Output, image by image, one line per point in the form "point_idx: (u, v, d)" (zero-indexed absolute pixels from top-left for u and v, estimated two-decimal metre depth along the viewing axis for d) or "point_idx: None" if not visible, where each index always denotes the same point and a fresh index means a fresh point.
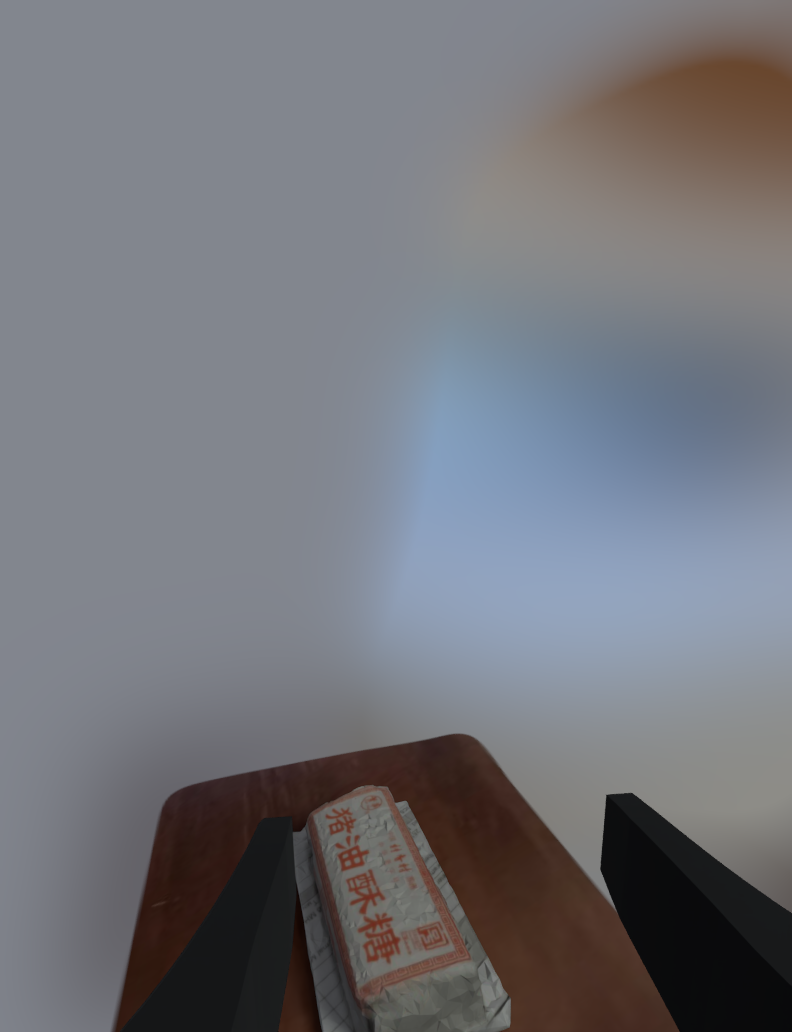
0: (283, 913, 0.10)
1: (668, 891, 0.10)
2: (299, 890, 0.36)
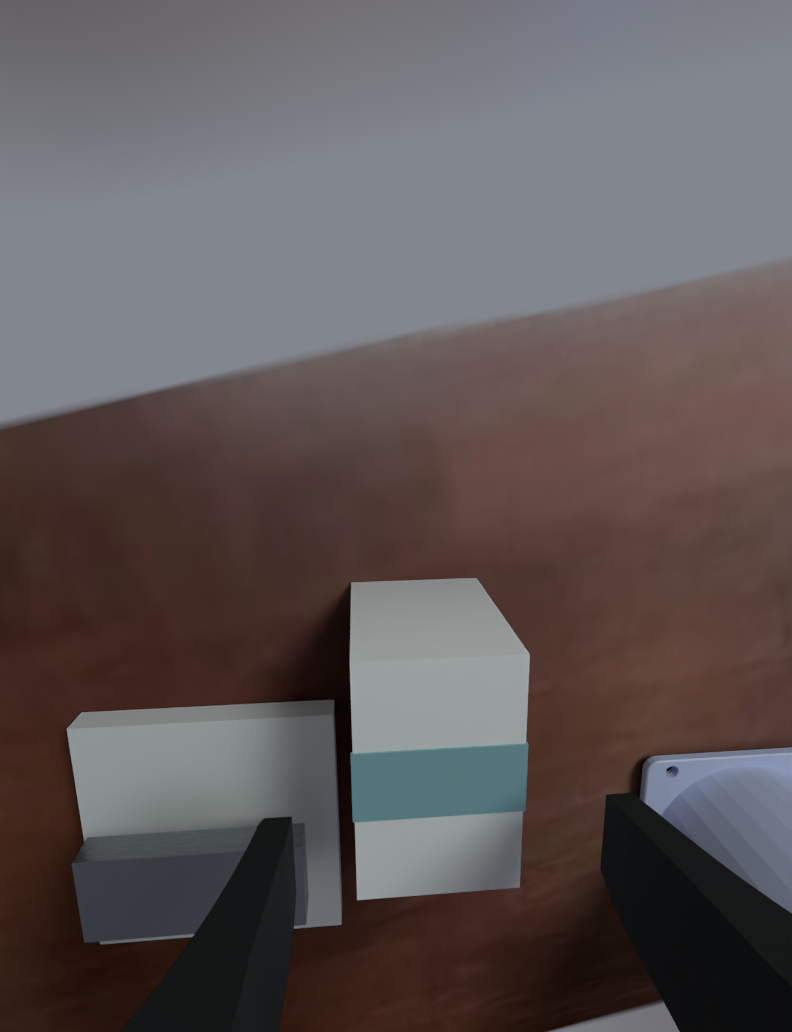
0: (283, 913, 0.10)
1: (668, 891, 0.10)
2: None
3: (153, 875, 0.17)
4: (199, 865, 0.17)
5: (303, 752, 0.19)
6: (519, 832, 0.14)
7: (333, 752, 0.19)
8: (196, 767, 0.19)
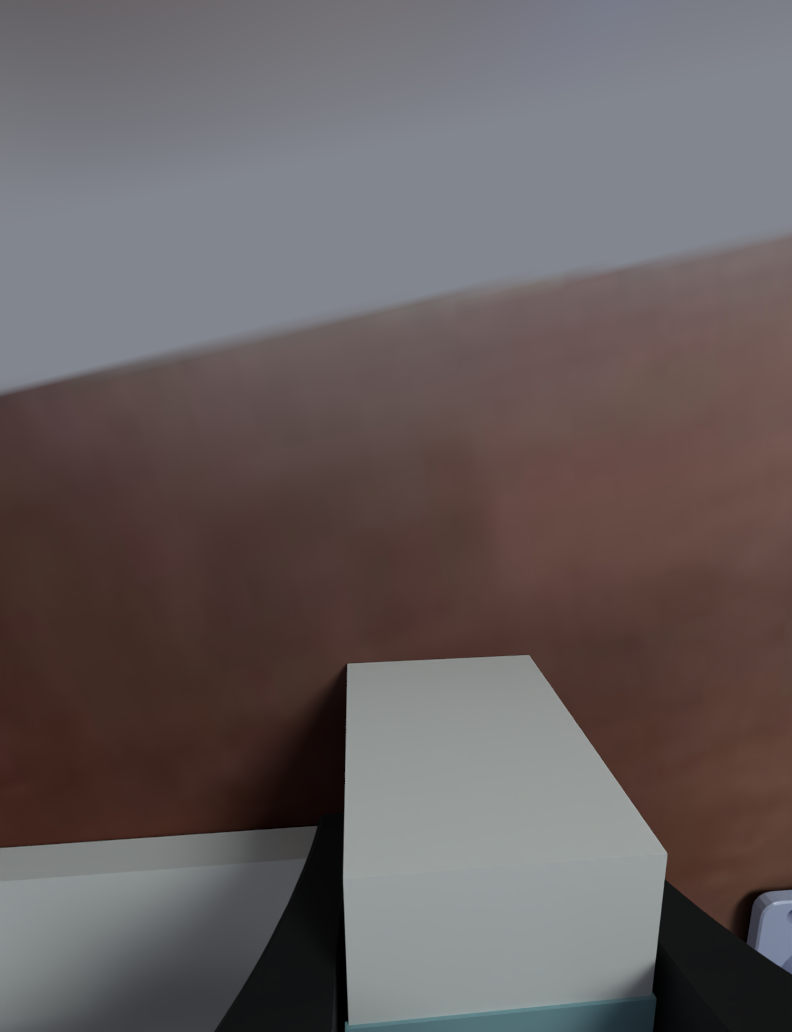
0: None
1: None
2: None
3: None
4: None
5: (278, 909, 0.13)
6: None
7: None
8: (121, 934, 0.13)
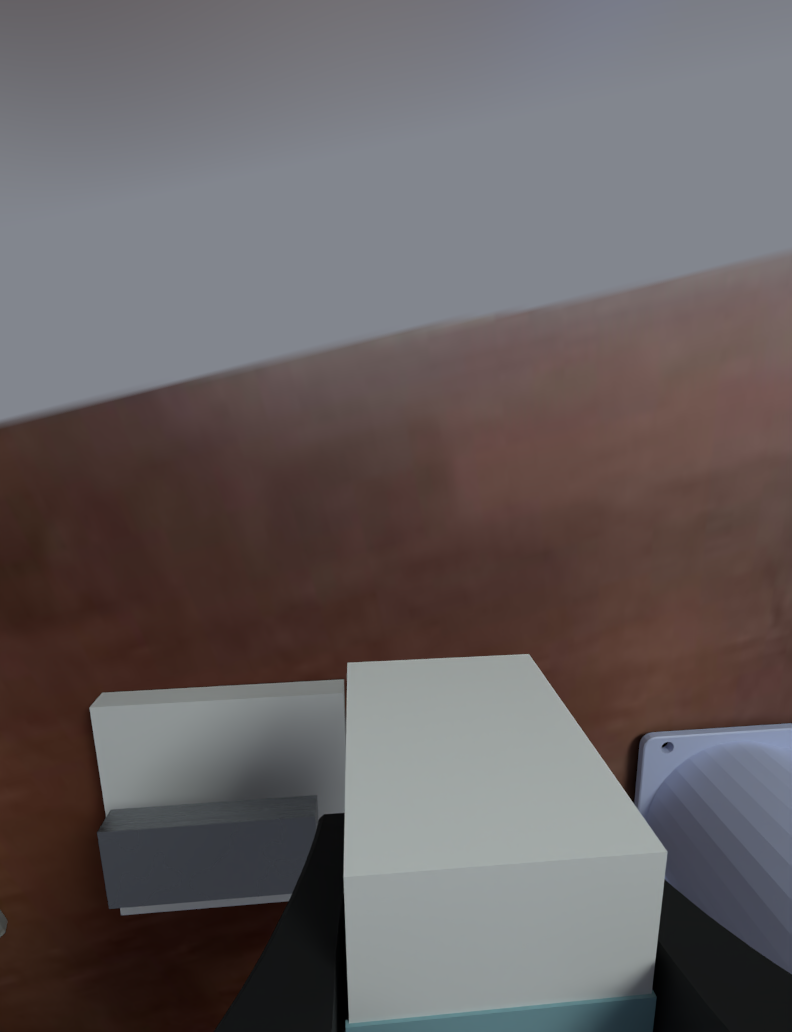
0: None
1: None
2: None
3: (175, 844, 0.18)
4: (218, 834, 0.18)
5: (314, 729, 0.20)
6: None
7: (343, 729, 0.20)
8: (212, 744, 0.20)
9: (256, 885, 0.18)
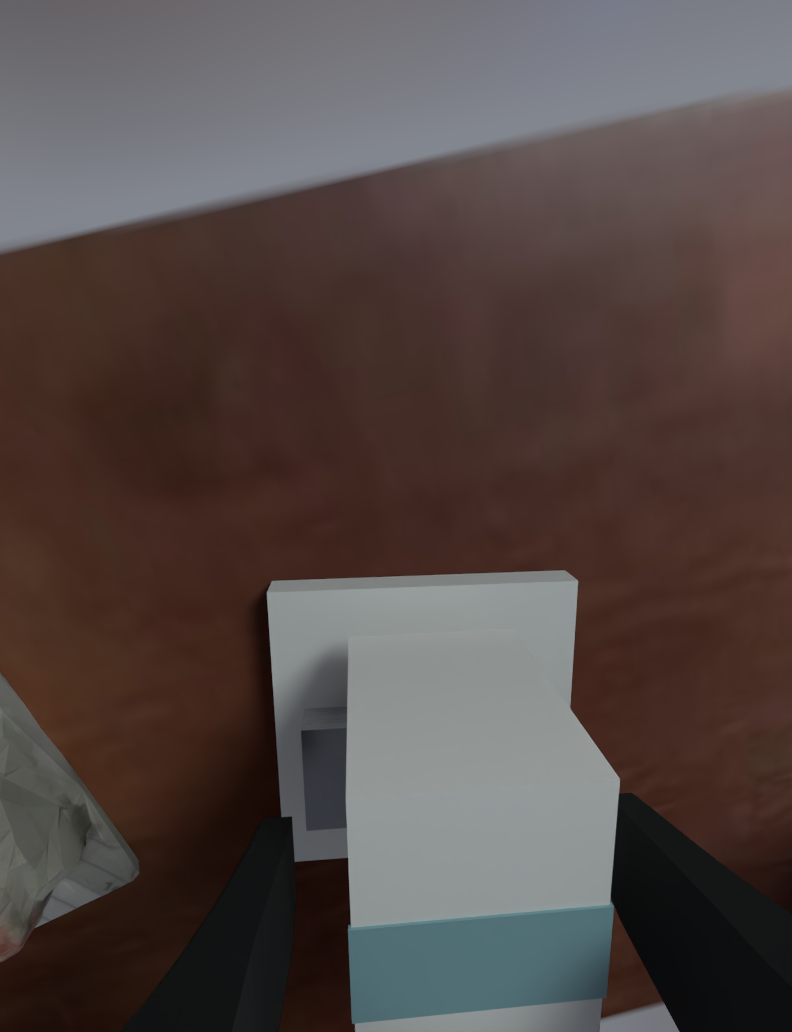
0: (283, 913, 0.10)
1: (668, 891, 0.10)
2: None
3: None
4: None
5: (539, 627, 0.16)
6: (594, 1026, 0.10)
7: (573, 628, 0.16)
8: None
9: None
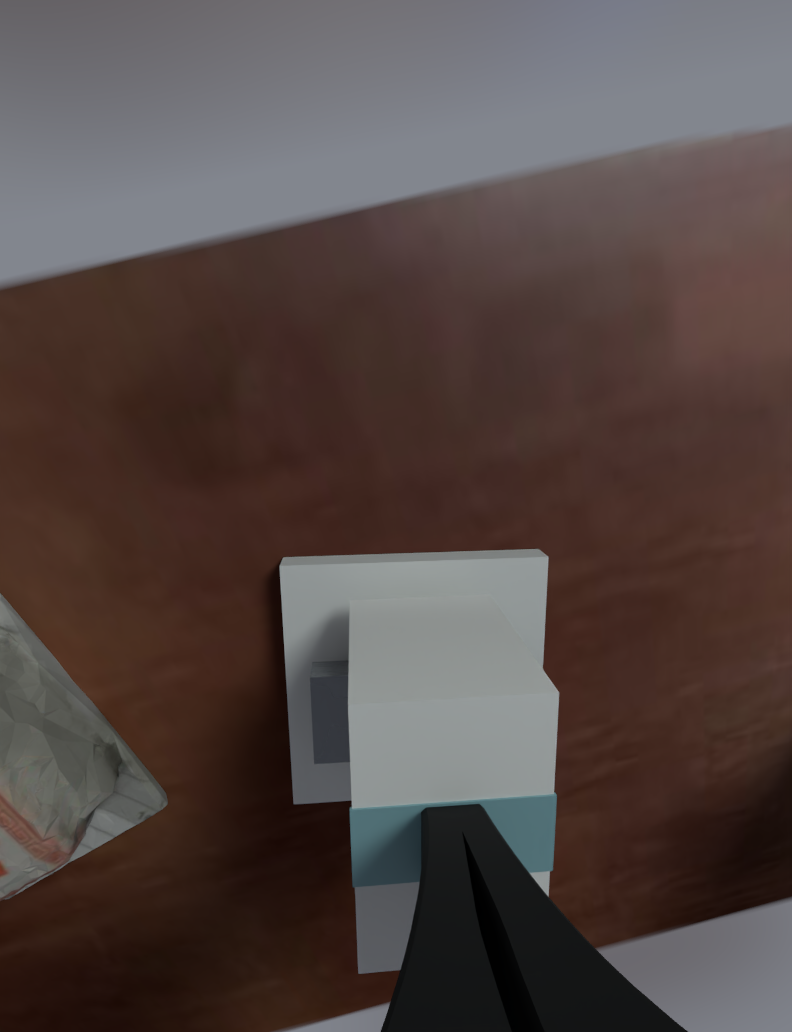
0: None
1: (481, 907, 0.10)
2: None
3: None
4: None
5: (515, 597, 0.18)
6: None
7: (545, 598, 0.18)
8: None
9: None
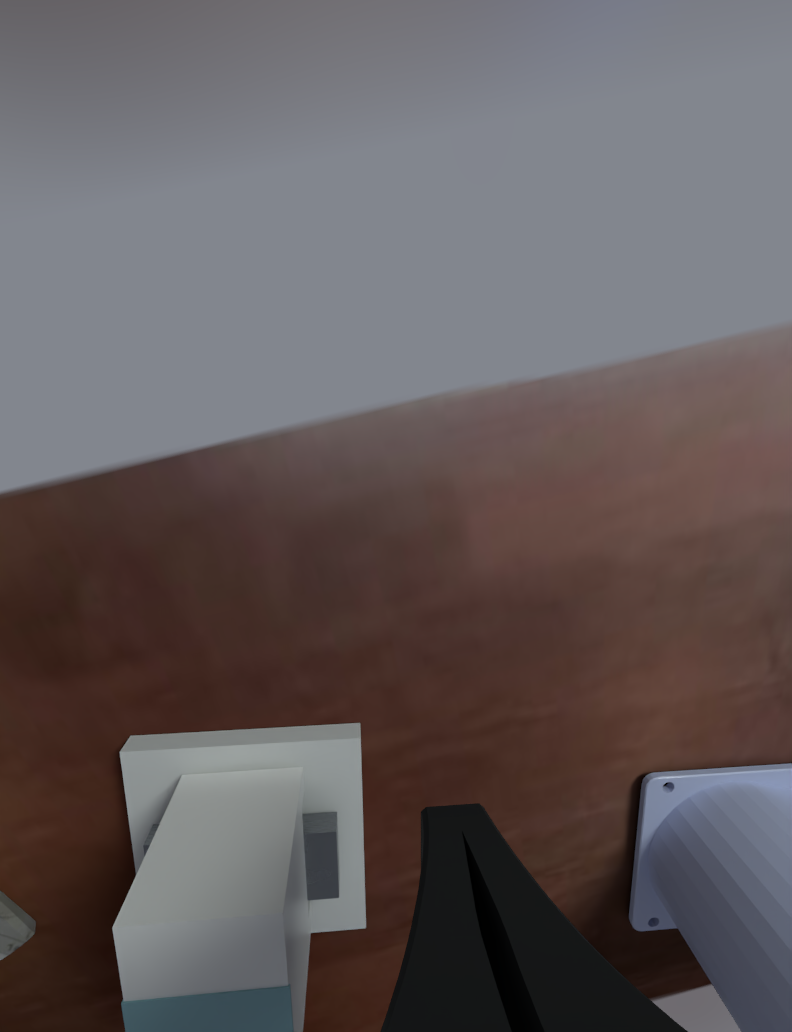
0: None
1: (481, 907, 0.10)
2: None
3: None
4: None
5: (333, 772, 0.21)
6: None
7: (360, 771, 0.21)
8: None
9: None
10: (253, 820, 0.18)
